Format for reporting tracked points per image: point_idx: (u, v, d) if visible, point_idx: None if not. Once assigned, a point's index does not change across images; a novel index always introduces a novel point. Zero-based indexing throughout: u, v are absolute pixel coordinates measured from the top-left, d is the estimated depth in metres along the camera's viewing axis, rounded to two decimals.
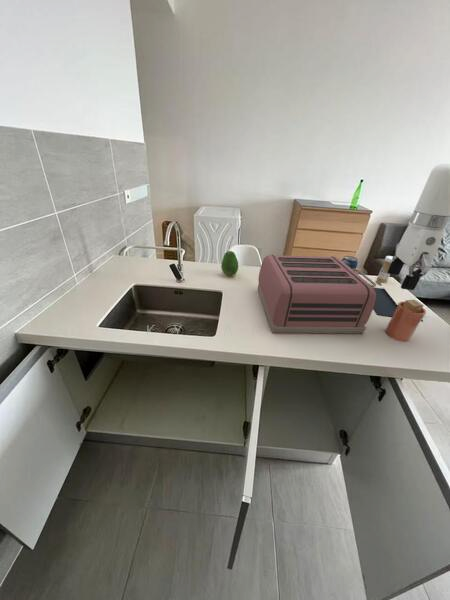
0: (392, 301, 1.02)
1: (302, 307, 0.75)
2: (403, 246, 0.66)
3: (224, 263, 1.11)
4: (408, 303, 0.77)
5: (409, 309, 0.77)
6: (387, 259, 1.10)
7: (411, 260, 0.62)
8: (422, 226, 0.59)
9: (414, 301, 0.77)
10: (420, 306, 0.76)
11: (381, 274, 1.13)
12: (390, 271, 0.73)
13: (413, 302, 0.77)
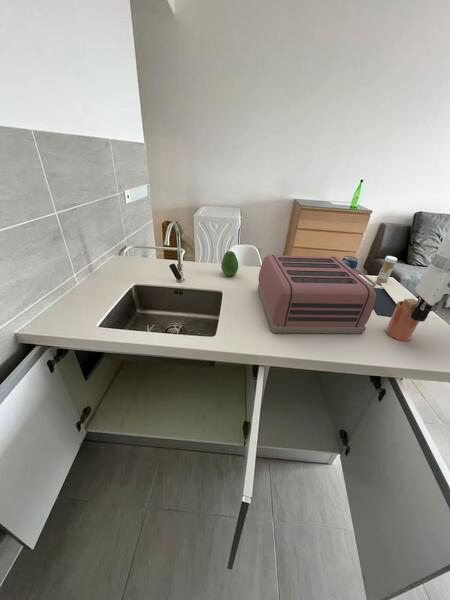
0: (392, 301, 1.02)
1: (302, 307, 0.75)
2: (424, 284, 0.70)
3: (224, 263, 1.11)
4: (407, 302, 0.77)
5: (408, 308, 0.77)
6: (387, 259, 1.10)
7: (433, 300, 0.66)
8: (444, 270, 0.63)
9: (413, 300, 0.78)
10: None
11: (381, 274, 1.13)
12: None
13: (412, 300, 0.77)
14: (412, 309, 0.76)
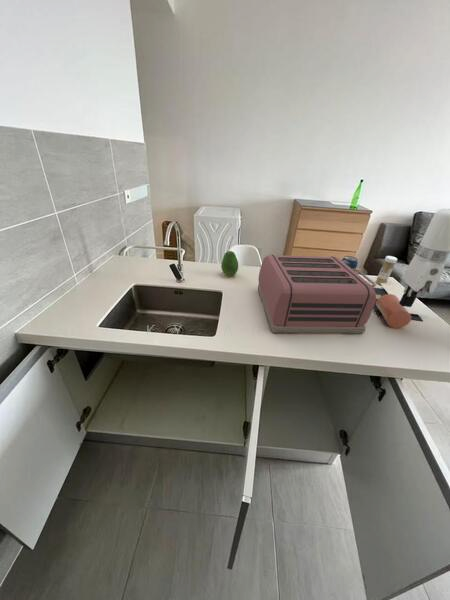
0: None
1: (302, 307, 0.75)
2: (410, 273, 0.77)
3: (224, 263, 1.11)
4: None
5: None
6: (387, 259, 1.10)
7: (417, 286, 0.73)
8: (427, 259, 0.70)
9: None
10: None
11: (381, 274, 1.13)
12: None
13: None
14: None
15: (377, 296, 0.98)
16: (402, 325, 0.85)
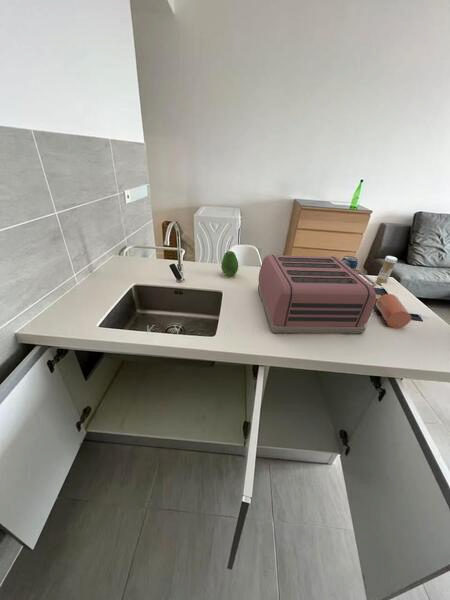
0: None
1: (302, 307, 0.75)
2: None
3: (224, 263, 1.11)
4: None
5: None
6: (387, 259, 1.10)
7: None
8: None
9: None
10: None
11: (381, 274, 1.13)
12: None
13: None
14: None
15: (377, 296, 0.98)
16: (402, 325, 0.85)
